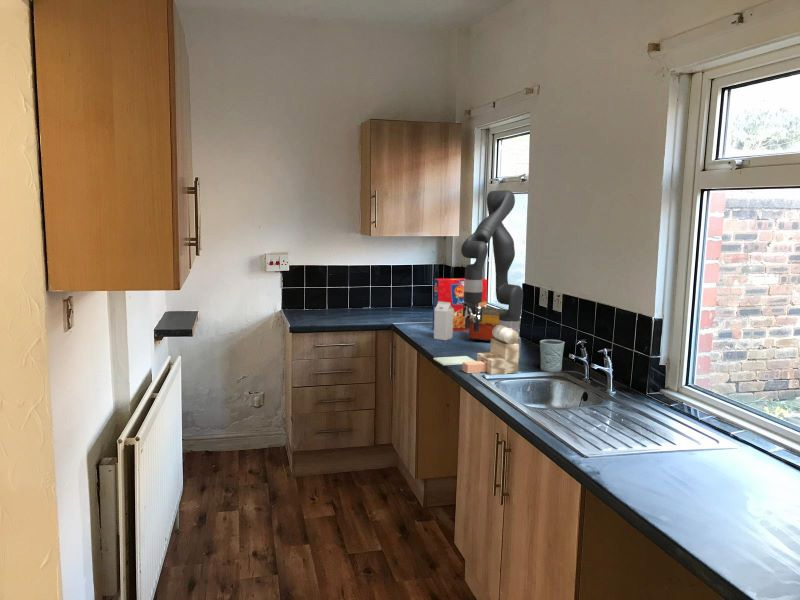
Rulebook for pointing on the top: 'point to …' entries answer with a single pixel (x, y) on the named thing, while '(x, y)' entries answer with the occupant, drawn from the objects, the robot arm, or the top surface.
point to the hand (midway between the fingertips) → (471, 329)
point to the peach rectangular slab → (475, 367)
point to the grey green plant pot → (551, 355)
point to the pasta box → (455, 298)
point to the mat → (453, 360)
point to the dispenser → (502, 352)
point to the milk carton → (443, 321)
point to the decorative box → (486, 324)
